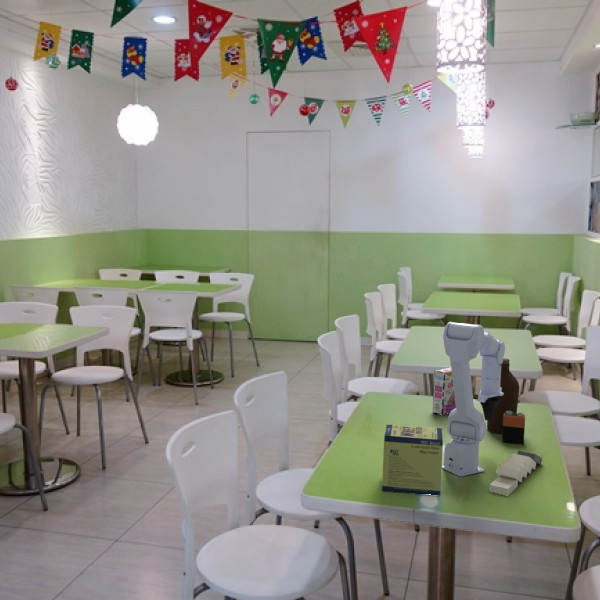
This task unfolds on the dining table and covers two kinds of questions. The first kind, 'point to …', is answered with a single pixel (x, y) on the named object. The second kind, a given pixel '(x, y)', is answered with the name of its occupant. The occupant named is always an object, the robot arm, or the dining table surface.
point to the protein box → (412, 459)
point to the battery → (513, 428)
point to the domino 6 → (531, 456)
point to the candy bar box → (443, 392)
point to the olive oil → (505, 398)
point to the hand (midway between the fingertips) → (488, 420)
